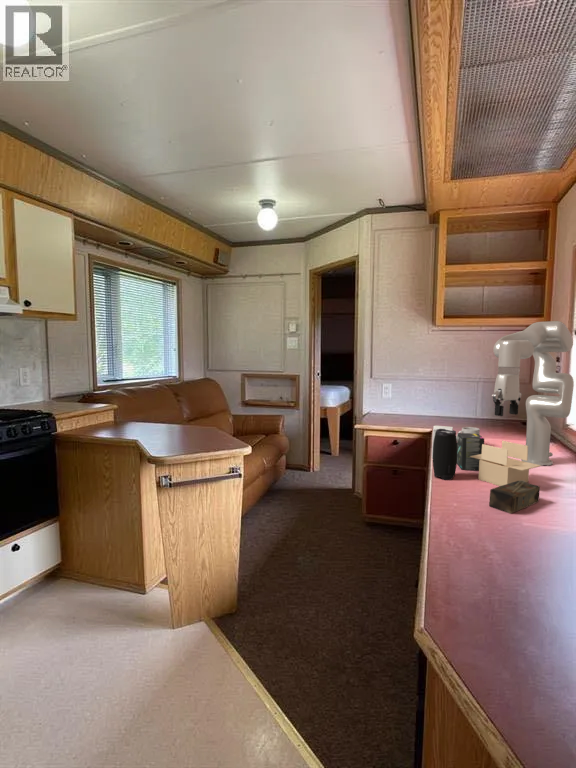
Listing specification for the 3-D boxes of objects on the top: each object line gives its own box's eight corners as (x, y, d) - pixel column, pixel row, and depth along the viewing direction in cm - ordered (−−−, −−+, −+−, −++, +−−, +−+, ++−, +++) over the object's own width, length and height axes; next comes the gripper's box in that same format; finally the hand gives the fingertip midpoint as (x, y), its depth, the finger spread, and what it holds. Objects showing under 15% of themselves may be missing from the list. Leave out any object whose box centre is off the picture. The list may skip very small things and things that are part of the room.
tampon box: (483, 471, 175) (485, 438, 174) (461, 470, 177) (462, 437, 176) (477, 464, 186) (478, 433, 185) (456, 463, 188) (457, 432, 187)
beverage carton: (540, 502, 140) (541, 484, 140) (511, 515, 130) (512, 495, 129) (516, 495, 147) (517, 478, 146) (487, 507, 136) (488, 488, 136)
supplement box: (431, 458, 196) (432, 428, 194) (432, 454, 204) (433, 425, 203) (451, 460, 192) (452, 429, 191) (451, 456, 200) (452, 426, 199)
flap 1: (482, 444, 163) (482, 444, 163) (508, 449, 154) (507, 449, 154) (481, 458, 163) (481, 458, 163) (507, 465, 154) (506, 465, 154)
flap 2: (501, 454, 170) (502, 454, 170) (527, 460, 161) (527, 460, 161) (502, 440, 169) (502, 440, 169) (527, 445, 160) (528, 445, 160)
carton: (488, 471, 176) (489, 452, 175) (541, 486, 157) (542, 465, 156) (467, 476, 169) (468, 456, 168) (520, 492, 150) (521, 470, 149)
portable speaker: (431, 473, 173) (433, 427, 171) (455, 475, 170) (457, 429, 168) (432, 479, 165) (433, 431, 163) (456, 481, 162) (458, 433, 160)
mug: (479, 446, 222) (480, 428, 221) (477, 449, 214) (478, 430, 213) (458, 443, 228) (459, 425, 227) (455, 446, 220) (456, 428, 219)
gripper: (512, 371, 167) (510, 412, 168) (485, 371, 158) (483, 415, 160) (530, 371, 160) (528, 414, 162) (504, 372, 152) (501, 417, 153)
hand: (506, 414), depth 161 cm, fingers open, 9 cm apart
